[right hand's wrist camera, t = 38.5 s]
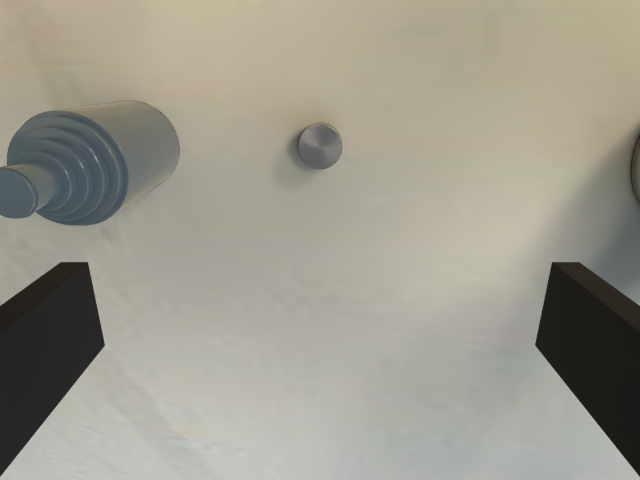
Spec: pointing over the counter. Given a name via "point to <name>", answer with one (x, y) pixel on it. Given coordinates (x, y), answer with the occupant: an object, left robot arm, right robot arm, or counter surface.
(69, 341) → the right robot arm
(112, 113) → the bottle
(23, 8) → the counter surface
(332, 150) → the cap
